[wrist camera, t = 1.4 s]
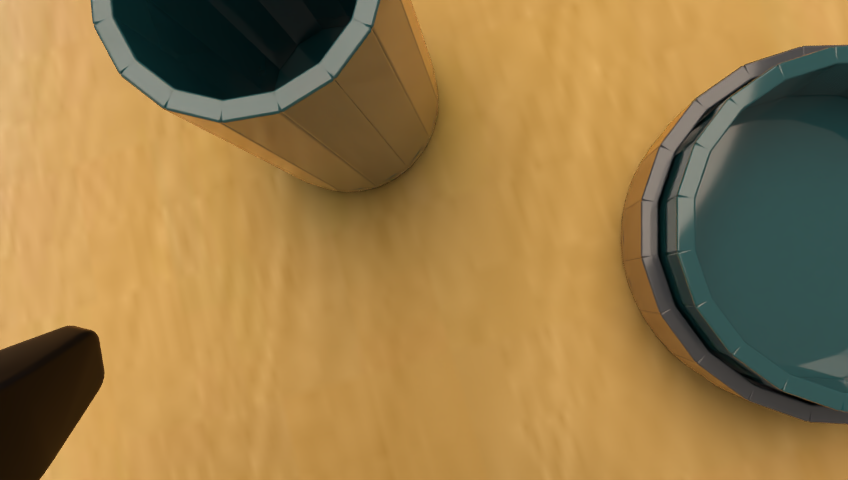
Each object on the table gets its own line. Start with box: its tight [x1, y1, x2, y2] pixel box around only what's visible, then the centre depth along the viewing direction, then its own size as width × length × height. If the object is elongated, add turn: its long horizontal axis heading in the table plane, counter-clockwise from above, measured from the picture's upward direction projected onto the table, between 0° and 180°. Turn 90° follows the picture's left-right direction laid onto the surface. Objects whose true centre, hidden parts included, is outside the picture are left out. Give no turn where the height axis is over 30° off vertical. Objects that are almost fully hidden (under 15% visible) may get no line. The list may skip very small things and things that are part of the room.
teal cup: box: [91, 0, 438, 192], centre depth 19 cm, size 6×6×10 cm
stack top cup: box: [658, 46, 848, 412], centre depth 19 cm, size 10×10×5 cm
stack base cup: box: [621, 45, 848, 424], centre depth 20 cm, size 11×11×3 cm
